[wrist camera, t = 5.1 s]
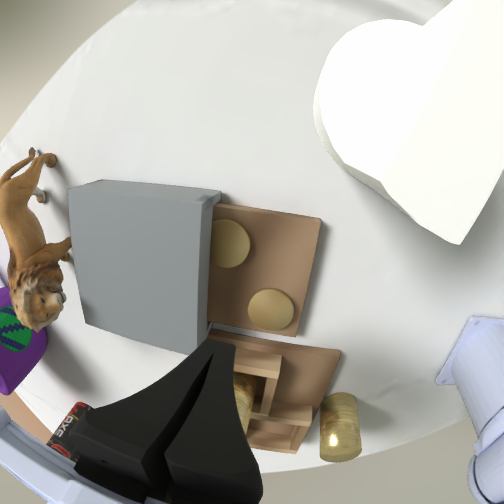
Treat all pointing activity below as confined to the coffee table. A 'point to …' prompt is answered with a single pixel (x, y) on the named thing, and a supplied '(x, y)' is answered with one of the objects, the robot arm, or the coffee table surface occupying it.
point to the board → (259, 267)
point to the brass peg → (339, 428)
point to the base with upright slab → (420, 112)
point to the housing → (144, 260)
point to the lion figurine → (31, 247)
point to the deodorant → (61, 435)
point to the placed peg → (244, 395)
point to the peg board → (281, 387)
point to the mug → (16, 346)
